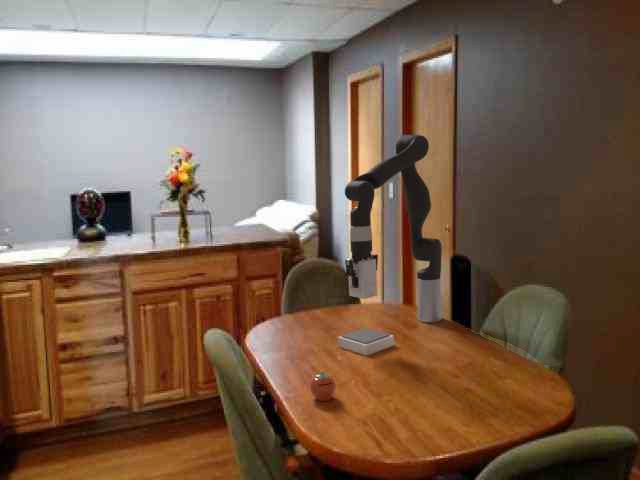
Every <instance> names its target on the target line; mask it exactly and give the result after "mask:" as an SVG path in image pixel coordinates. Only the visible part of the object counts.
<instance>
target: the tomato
mask: <svg viewBox="0 0 640 480" xmlns="http://www.w3.org/2000/svg"><path fill="white" fill-rule="evenodd" d="M336 387H337V383H336V381H335V379H334V378H333V377H332V376H329V374H328V373H324V371H323V370H321V371H320V372H319V373H318V374H317V375H315V376H314V377H313V378H312V379H311V380H310V382H309V389H310V393H311V395H312V396H313V398H314V399H315V400H317V401H319V402H327V401H329V400H330V399H331V398H332V397H333V396H334V393H335V391H336V389H337V388H336Z"/></svg>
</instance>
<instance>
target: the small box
mask: <svg viewBox="0 0 640 480" xmlns="http://www.w3.org/2000/svg"><path fill="white" fill-rule="evenodd" d="M353 267H354V268H358V267H359V271H358V286H359V287H358V288H354V287H353V286H352V277H351V276H348V295H349V297H354V298H358V299H363V300H368V299H370V298H374V297H377V296H378V283H377V271H376V260H374V259H370V260H364V261H358V264H356V263H355V264H353ZM355 272H356V270H355V271H354V273H355Z"/></svg>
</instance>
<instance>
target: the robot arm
mask: <svg viewBox="0 0 640 480" xmlns="http://www.w3.org/2000/svg"><path fill="white" fill-rule="evenodd" d="M429 145H430V144H429V141H428V138H426V137H425V136H424V135H420V134H401V135H399V136H398V137H397V139H396V141H395V153H396V154H395V155H392V156H390V157H388V158H386V159H384V160H381V161H380V162H378V163H376V164H375V165H374V166H373V167H371V168H370V169H369V170H367V172H364V173H363V174H361V175H358V176H357V177H355V178H353V179H351V180H350V181H349V182H347V184H346V185H345V187H344V188H345V189H344V195H345V198H346V199H347V200H349V201H351V202H358V203H357V206H356V208H353V209H351V210H350V212H349V213H350V214H349V217H350V219H349V220H350V230H349V236H350V238H349V241H350V242H349V243H350V252H351V258H345V263H344V264H345V270H346V276H348V277H349V276H351V277H352V286H353V287H354V288H358V287H359V286H358V271H359V267H358V268H354V267H353V264H355V263H356V264H358V261H364V260H370V259H374V260H376V272H377V271H378V263H379V262H378V261H379V259H378V257H379V255H378V254H377V253H375V254H374V253H372V252H373V232H372V222H371V220H372V219H371V217H372V216H371V214H372V210H373V204H374V201H375V192H376V191H375V190H376V189H379V188H381V187H382V186H383V185H385V183H387V182H388V181H390V180H391V179H392V178H393V177H394V176H395V175H397V174H399V173H401V177H402V178H401V179H402V183H403V189H404V195H405V196H404V197H405V198H404V199H405V203H406V208H407V214H408V215H407V216H408V220H409V228H410V229H409V230H410V240H411V241H410V243H411V253H412V256H413V258H414V259H415V260H416V261H419V262H429V264H428V266H426V267H424V268H421V269H419V270H418V271H416V288H417V292H416V293H417V320H418V321H419V322H422V323H438V322H441V321H442V319H443V295H442V294H441V293H442V291H441V287H442V285H441V284H442V283H441V273H442V257H443V256H442V252H443V251H442V250H443V249H442V242H441V240H440V239H438V238H433V237H431V238H429V237H423V227H424V223H426V220H427V217H429V216H428V215H429V214H430V211H431V208H432V201H431V195H430V190H429V188H428V186H427V184H426V183H425V181H424V179H422V177H421V176H420V174H419V172H418V171H417V168H416V166H415V165H416V164H415V163H417V162H419V161H421V160H423V159H424V158H426V156H427V154H428V152H429V148H430V146H429ZM355 270H356V272H355V273H354V271H355Z"/></svg>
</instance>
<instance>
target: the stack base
mask: <svg viewBox="0 0 640 480" xmlns="http://www.w3.org/2000/svg"><path fill="white" fill-rule="evenodd" d="M394 338H395V336H394V335H393V334H390V333H386V332H381V331H378V330H374V329H370V328H365V327H364V328H361V329H358V330H357V329H356V330H355V331H351V332H349V333H346V334H342V335H340V336H337V347H339V348H341V349H345V350H347V351H350V352H353V353H357V354H359V355H360V354H361V355H363V356H368V355H372V354H374V353H377V352H379V351H382V350H385V349H388V348H390V347H394V346H395V341H394V340H395V339H394Z"/></svg>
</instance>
